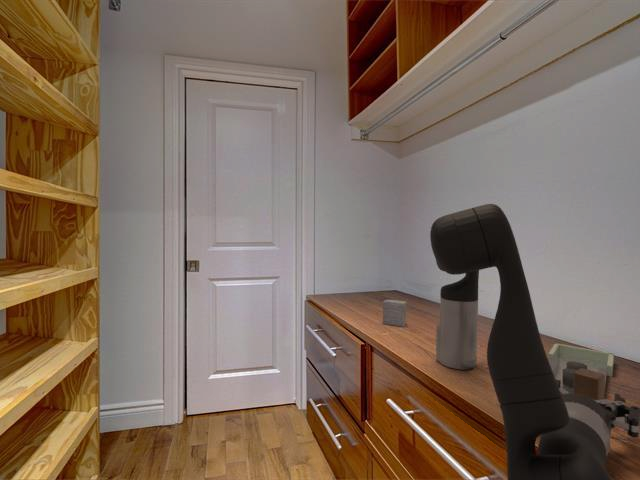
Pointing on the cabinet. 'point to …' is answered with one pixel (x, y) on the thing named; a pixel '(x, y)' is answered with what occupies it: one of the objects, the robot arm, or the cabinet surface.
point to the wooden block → (589, 384)
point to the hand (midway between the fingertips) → (586, 391)
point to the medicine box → (394, 312)
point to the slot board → (561, 361)
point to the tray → (583, 355)
